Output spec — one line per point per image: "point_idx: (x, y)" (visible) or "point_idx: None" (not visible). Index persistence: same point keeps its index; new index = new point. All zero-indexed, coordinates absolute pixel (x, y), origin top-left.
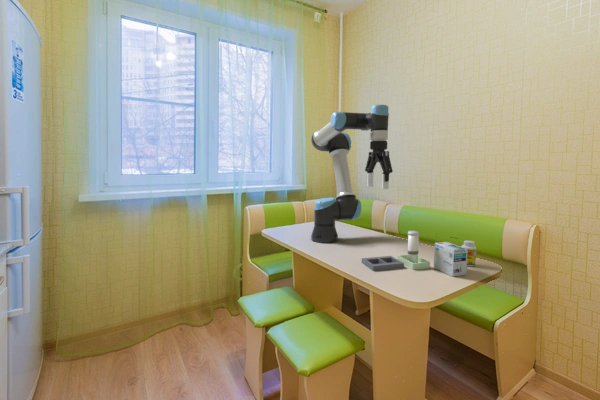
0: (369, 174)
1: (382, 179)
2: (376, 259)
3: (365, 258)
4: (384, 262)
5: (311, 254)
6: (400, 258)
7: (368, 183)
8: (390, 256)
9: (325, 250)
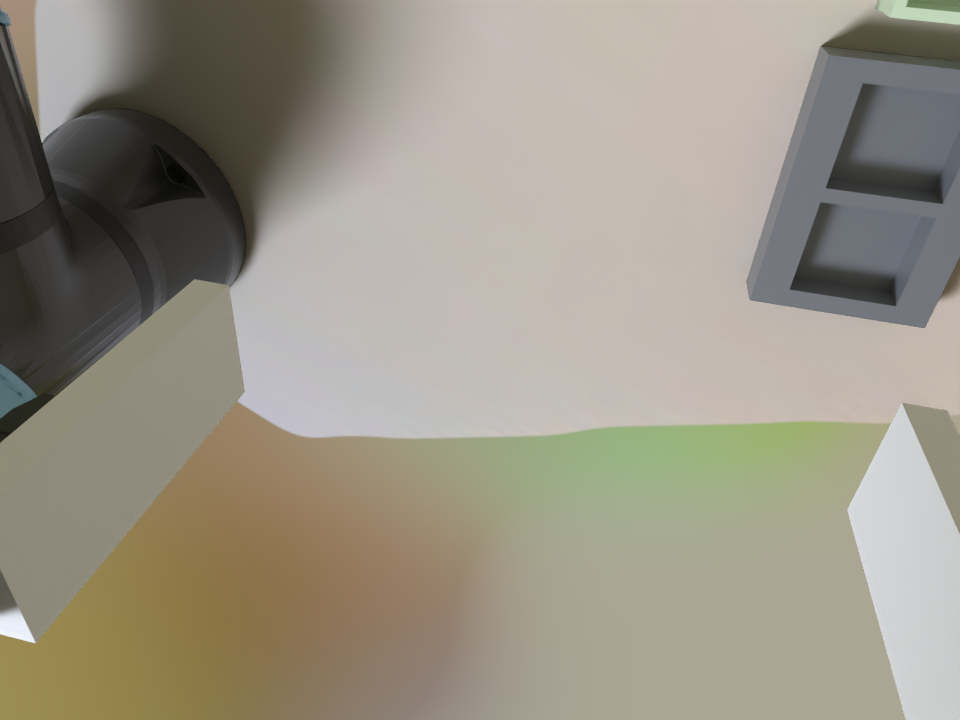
0: (58, 581)
1: (913, 709)
2: (816, 210)
3: (767, 279)
4: (921, 213)
5: (458, 432)
6: (943, 22)
7: (206, 425)
8: (843, 70)
9: (407, 333)
